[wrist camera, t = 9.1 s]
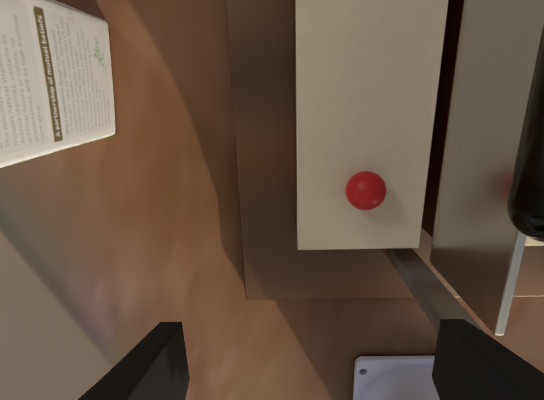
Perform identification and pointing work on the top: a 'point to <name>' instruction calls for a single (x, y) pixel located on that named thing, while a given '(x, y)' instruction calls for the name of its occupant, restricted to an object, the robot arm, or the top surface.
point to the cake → (370, 119)
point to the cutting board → (280, 191)
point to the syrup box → (52, 79)
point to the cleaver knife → (492, 156)
